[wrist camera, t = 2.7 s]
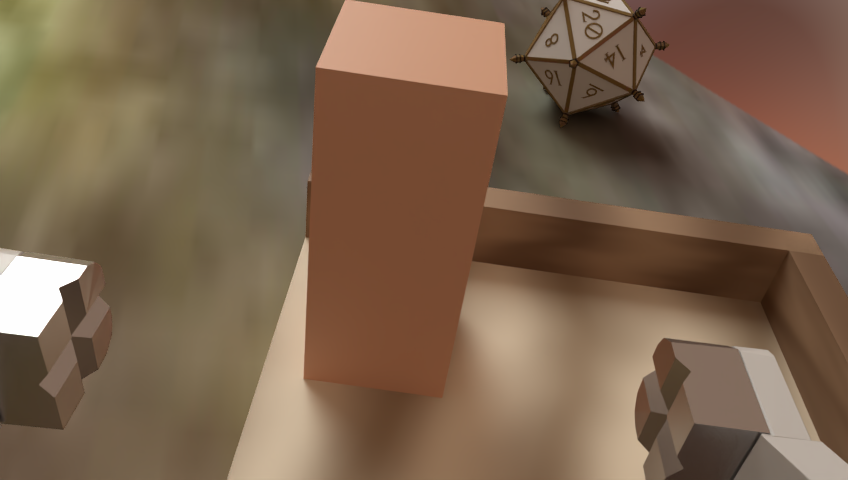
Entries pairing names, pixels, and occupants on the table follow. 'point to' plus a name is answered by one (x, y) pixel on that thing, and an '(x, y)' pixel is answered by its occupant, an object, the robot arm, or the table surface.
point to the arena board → (559, 349)
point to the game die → (590, 54)
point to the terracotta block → (398, 191)
